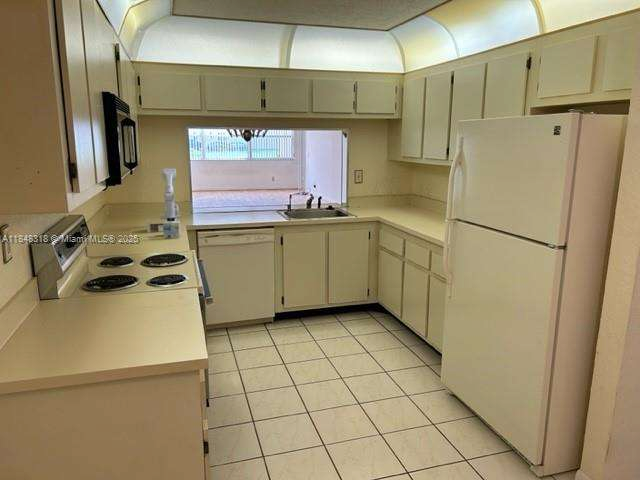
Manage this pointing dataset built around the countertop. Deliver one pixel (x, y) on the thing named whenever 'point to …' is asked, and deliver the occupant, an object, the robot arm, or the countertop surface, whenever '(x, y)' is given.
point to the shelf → (155, 227)
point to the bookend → (148, 226)
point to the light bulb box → (171, 229)
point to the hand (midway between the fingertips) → (171, 228)
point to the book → (160, 228)
